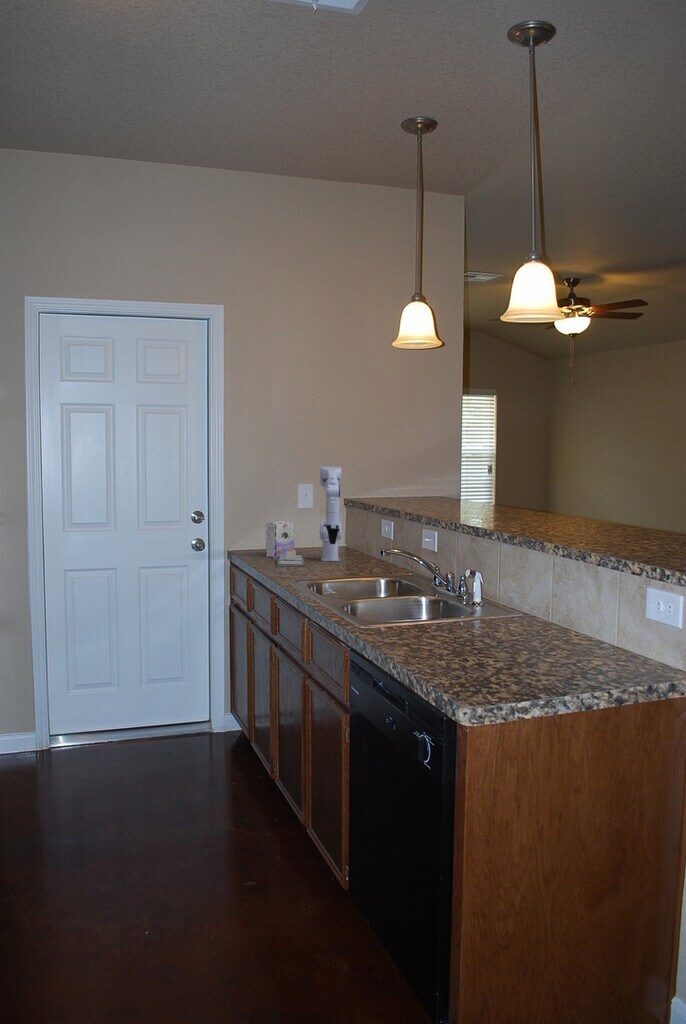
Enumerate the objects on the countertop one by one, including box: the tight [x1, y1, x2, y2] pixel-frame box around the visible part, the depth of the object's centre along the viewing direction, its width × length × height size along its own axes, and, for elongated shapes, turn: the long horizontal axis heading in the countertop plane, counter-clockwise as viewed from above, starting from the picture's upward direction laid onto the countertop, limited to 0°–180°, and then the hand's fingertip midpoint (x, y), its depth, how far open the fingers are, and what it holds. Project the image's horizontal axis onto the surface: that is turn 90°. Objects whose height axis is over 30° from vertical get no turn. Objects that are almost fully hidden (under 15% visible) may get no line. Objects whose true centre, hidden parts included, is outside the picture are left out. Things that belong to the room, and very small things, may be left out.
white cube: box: [286, 548, 297, 560], centre depth 356 cm, size 4×4×4 cm
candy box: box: [265, 519, 295, 559], centre depth 373 cm, size 14×6×16 cm, turn 144°
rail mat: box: [276, 554, 306, 567], centre depth 353 cm, size 18×12×2 cm, turn 4°
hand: (332, 543), depth 349 cm, fingers open, 7 cm apart
